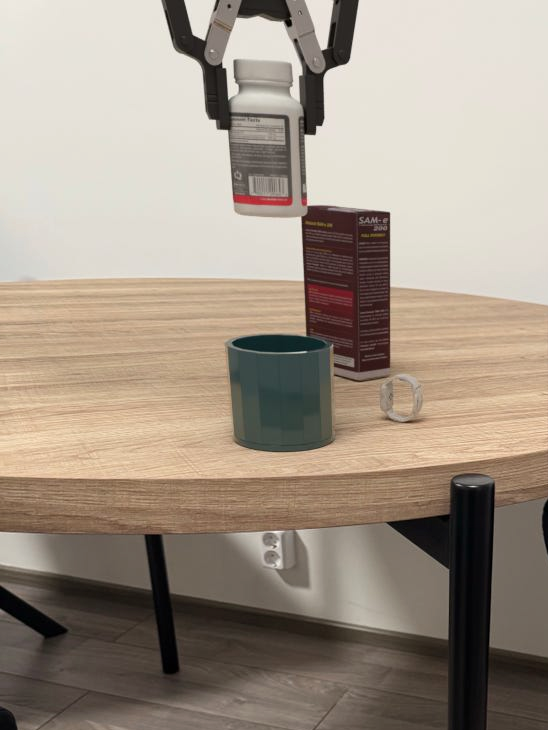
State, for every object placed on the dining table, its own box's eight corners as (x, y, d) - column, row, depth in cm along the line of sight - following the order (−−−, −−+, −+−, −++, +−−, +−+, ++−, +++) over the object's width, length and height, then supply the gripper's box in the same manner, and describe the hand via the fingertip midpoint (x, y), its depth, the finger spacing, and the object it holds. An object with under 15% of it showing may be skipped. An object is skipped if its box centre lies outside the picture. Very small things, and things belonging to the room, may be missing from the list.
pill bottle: (265, 211, 73) (257, 63, 68) (322, 217, 71) (318, 65, 66) (217, 214, 68) (206, 56, 64) (277, 219, 66) (269, 57, 62)
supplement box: (393, 376, 99) (393, 210, 92) (358, 382, 96) (355, 211, 88) (339, 362, 104) (335, 204, 96) (304, 367, 101) (297, 204, 93)
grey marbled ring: (426, 420, 84) (426, 374, 82) (417, 425, 82) (417, 379, 80) (388, 415, 85) (387, 370, 83) (379, 421, 83) (378, 375, 81)
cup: (240, 454, 73) (233, 355, 69) (226, 426, 79) (219, 334, 76) (345, 448, 75) (343, 352, 72) (322, 421, 82) (319, 332, 78)
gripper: (133, -211, 54) (165, 127, 62) (378, -170, 58) (378, 138, 66) (127, -176, 60) (157, 126, 68) (349, -142, 65) (352, 137, 72)
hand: (266, 131), depth 67 cm, fingers closed on pill bottle, 5 cm apart
